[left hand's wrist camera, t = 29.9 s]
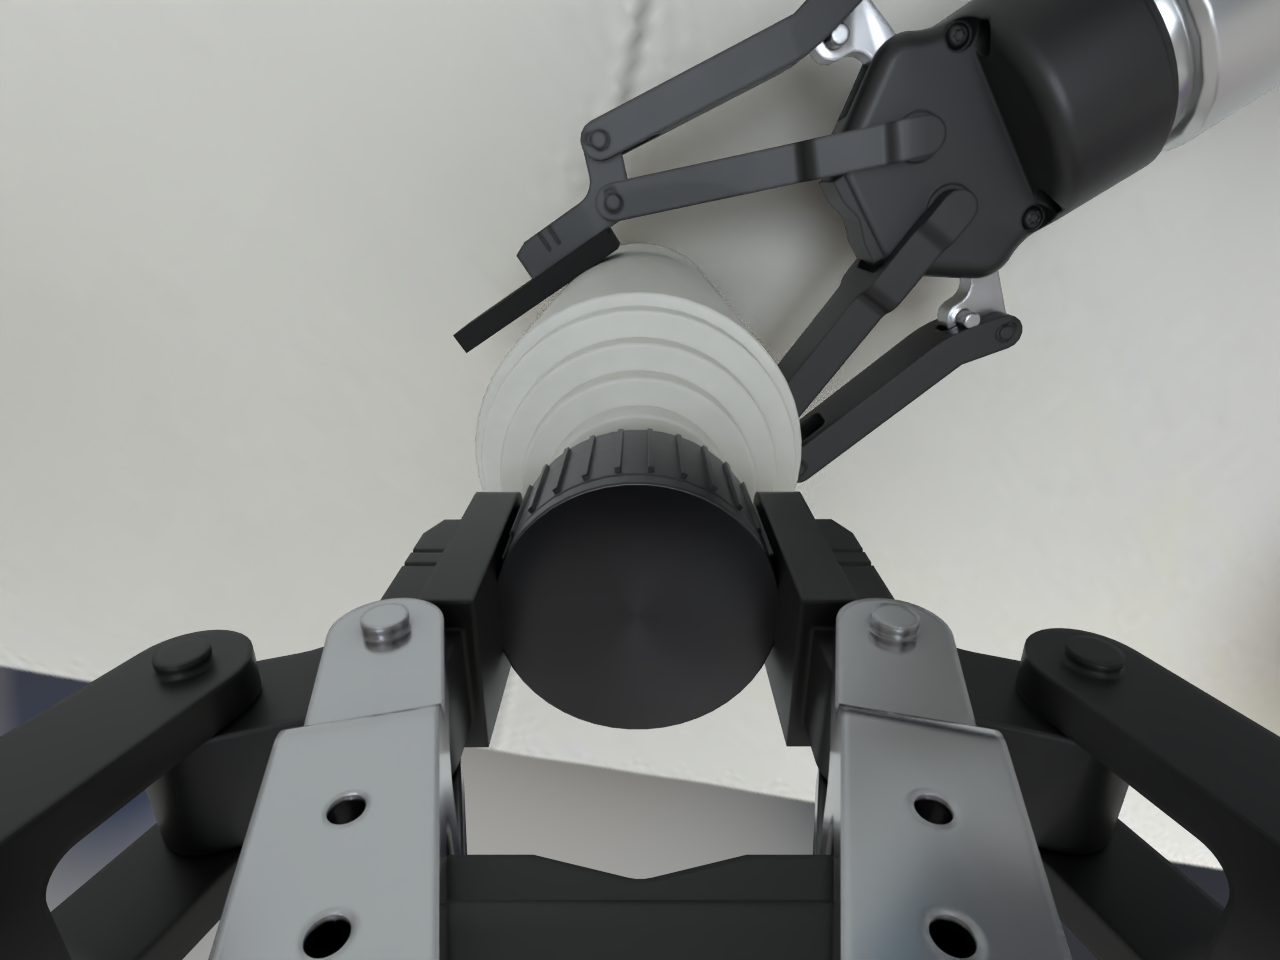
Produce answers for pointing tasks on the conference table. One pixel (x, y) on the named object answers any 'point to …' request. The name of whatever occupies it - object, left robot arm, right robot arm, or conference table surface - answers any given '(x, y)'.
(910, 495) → the conference table surface
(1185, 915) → the left robot arm
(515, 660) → the cap
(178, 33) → the conference table surface
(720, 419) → the bottle
